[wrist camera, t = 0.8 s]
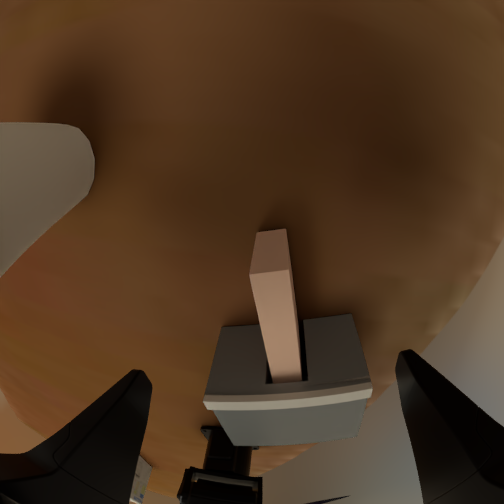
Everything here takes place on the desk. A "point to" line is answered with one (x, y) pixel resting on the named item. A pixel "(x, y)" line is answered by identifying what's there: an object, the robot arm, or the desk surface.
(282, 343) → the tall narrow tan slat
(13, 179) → the foam cup
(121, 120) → the desk surface
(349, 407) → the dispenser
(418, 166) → the desk surface
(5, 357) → the desk surface
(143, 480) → the light bulb box
